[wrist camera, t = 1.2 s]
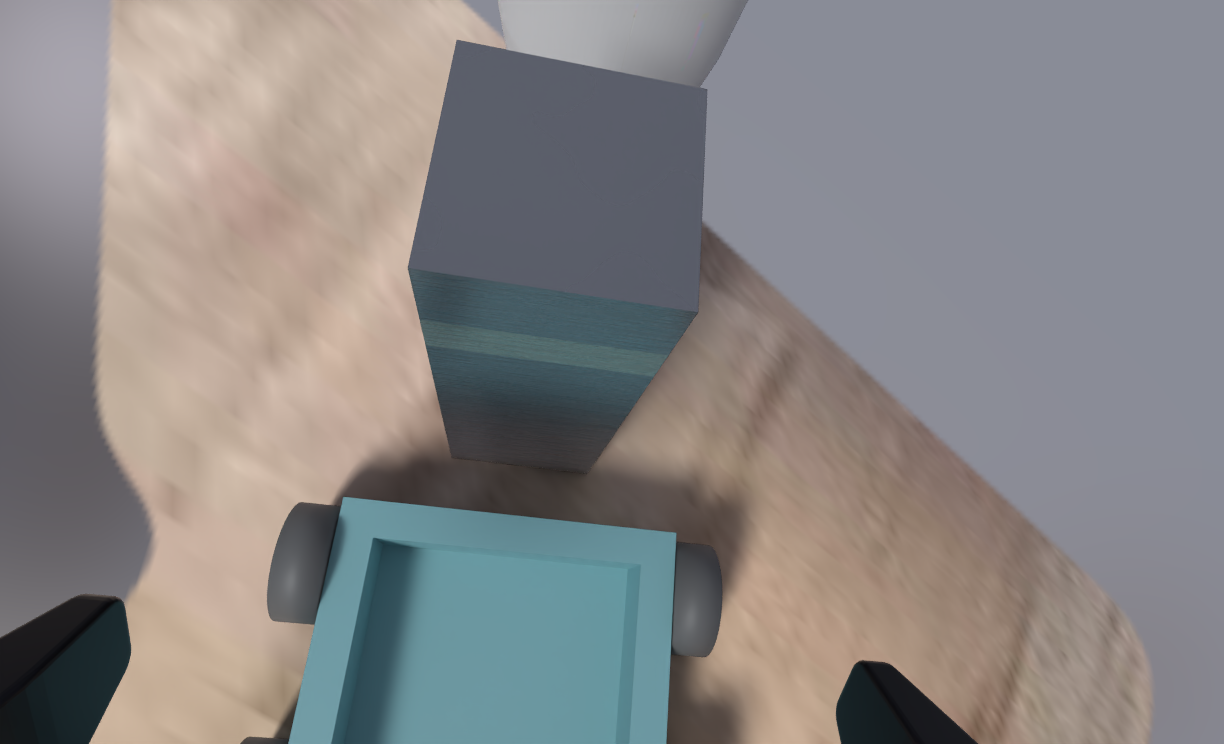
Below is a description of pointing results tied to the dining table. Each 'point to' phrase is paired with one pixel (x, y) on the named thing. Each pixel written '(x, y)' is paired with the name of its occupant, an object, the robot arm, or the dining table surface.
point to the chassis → (486, 625)
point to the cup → (625, 34)
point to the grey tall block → (555, 251)
